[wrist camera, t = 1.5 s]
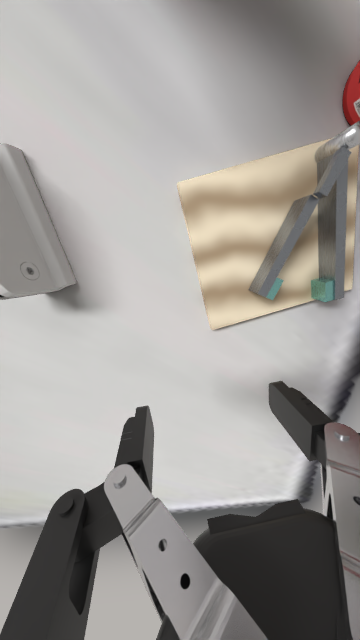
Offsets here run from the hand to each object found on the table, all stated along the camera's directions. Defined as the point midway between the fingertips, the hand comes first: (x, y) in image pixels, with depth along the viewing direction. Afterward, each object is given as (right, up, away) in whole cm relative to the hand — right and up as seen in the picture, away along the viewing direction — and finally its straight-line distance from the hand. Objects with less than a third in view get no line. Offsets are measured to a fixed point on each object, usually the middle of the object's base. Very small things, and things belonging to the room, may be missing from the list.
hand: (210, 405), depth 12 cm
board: (+12, +17, +16) cm, 26 cm away
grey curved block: (-23, +17, +13) cm, 31 cm away
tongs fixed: (+18, +19, +15) cm, 30 cm away
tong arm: (+13, +18, +15) cm, 26 cm away
